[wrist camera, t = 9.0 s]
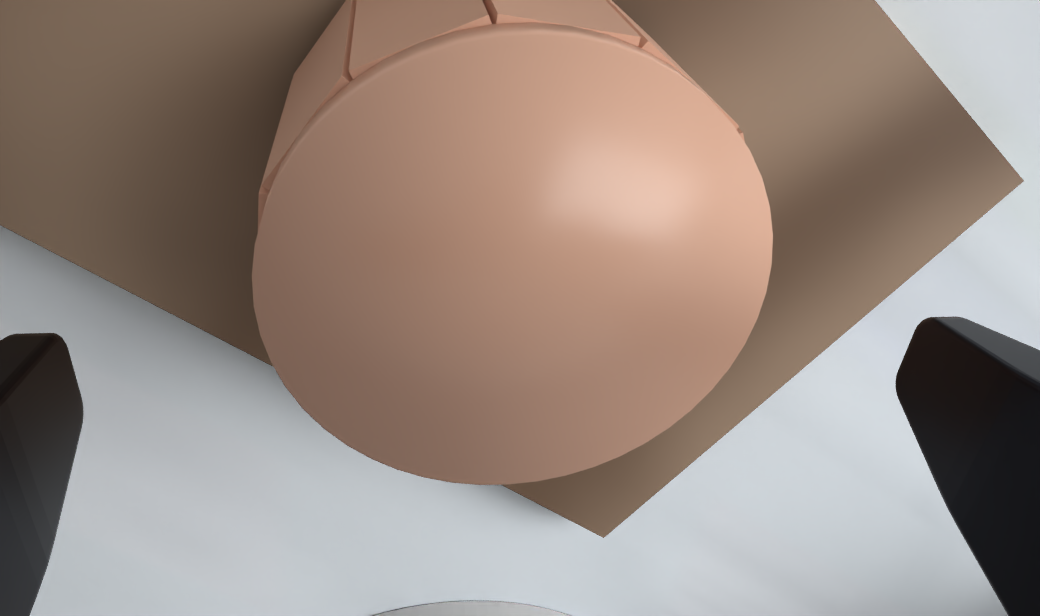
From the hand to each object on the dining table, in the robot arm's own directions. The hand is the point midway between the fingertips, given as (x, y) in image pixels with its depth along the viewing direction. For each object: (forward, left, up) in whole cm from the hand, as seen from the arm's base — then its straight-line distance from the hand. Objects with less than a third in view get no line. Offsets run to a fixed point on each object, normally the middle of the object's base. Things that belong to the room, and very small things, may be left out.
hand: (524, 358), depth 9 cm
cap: (0, 0, -6) cm, 6 cm away
